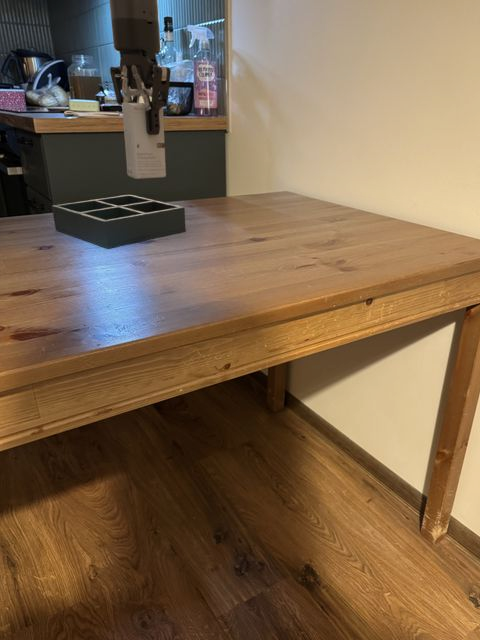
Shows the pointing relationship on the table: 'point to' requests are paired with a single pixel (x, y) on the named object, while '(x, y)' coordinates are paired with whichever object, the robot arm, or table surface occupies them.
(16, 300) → the table surface
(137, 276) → the table surface
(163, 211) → the grid
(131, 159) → the cosmetic box
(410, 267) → the table surface
